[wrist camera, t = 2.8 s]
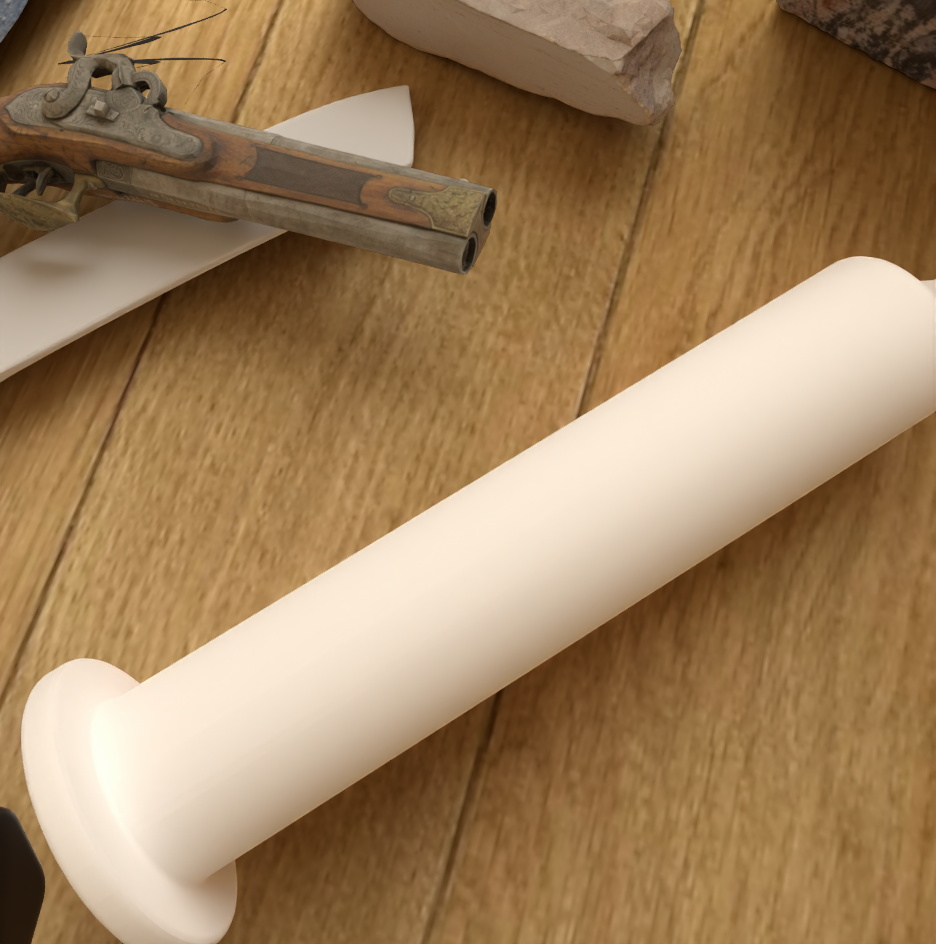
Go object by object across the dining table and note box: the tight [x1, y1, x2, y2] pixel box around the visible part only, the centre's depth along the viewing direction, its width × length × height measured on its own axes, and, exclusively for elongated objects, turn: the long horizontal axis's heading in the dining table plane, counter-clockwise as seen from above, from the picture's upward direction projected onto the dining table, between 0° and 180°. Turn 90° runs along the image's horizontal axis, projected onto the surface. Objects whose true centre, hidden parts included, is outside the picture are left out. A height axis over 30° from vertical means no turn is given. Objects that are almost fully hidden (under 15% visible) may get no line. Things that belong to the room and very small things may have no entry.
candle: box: [21, 256, 936, 944], centre depth 20 cm, size 7×7×25 cm
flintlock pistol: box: [0, 30, 497, 275], centre depth 22 cm, size 19×4×10 cm
